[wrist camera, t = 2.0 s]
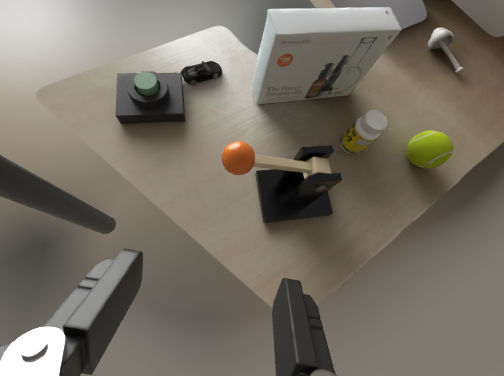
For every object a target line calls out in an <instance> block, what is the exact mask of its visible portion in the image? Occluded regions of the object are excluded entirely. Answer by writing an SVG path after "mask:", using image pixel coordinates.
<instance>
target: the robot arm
mask: <svg viewBox="0 0 504 376" xmlns="http://www.w3.org/2000/svg"><path fill="white" fill-rule="evenodd" d="M142 266H143V253H142V252H141V251H135V250H130V249H123V250H122V251H121V252H120V253H119V254H118V256H117V257H116V258H115V260H112V259H106V260H104V261H102V262H101V263H99V264H98V265H96V266H94V267H93V269H92V270H91V271H90V272H89V273H88V274H87V276H86V277H85V279H83V280H82V281H81V282H80V284H79V285H78V287H77V288H75V289H74V291H73V292H72V293H71V294H70V295H69V297H68V298H67V299H66V300H65V301H64V302H63V303H62V305H61V306H60V307H59V308H58V309H57V311H56V312H55V313H54V314H53V315H52V316H51V318H50V319H49V320H48V321H47V322H46V323H45V324H44V326H42V327H41V328H38V329H34V330H32V331H30V332H28V333H26V334H24V335H22V336H21V337H19V338H18V339H16V340H15V341H14V342H13V343H10V344H6V345H1V346H0V376H80V374H81V373H83V374H90V375H92V374H93V372H94V370H95V368H96V366H97V365H98V363H99V361H100V359H101V357H102V355H103V354H104V352H105V350H106V348H107V346H108V345H109V343H110V341H111V339H112V337H113V336H114V334H115V332H116V330H117V328H118V327H119V325H120V323H121V321H122V320H123V318H124V316H125V314H126V312H127V311H128V309H129V307H130V305H131V303H132V302H133V300H134V298H135V296H136V294H137V292H138V290H139V288H140V285H141V281H142ZM272 318H273V334H274V349H275V365H276V376H337V375H336V374H335V371H334V368H333V364H332V360H331V356H330V353H329V349H328V345H327V342H326V337H325V334H324V330H323V326H322V323H321V320H320V315H319V311H318V307H317V305H316V303H315V302H314V300H313V299H312V297H311V296H310V295H306V294H303V291H302V286H301V282H300V281H298V280H292V279H287V278H283V279H282V281H281V284H280V286H279V289H278V292H277V295H276V297H275V300H274V304H273V311H272Z"/></svg>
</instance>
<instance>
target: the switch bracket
mask: <svg viewBox="0 0 504 376" xmlns="http://www.w3.org/2000/svg"><path fill="white" fill-rule="evenodd" d="M333 152H334V149H333V145H327V146H312V147H301V149H300V150H299V152H298V153H297V155H296V156H295V158H294V159H293V160H296V161H302V162H306V161H307V160H309V159H310V158H312V157H319V158H325V159H328V158H329V157H330V156H331V154H332V153H333ZM256 180H257V187H258V193H259V199H260V205H261V211H262V218H263V223H270V222H279V221H287V220H295V219H304V218H312V217H320V216H329V215H331V214H333V211H332V207H331V203H330V199H329V195H328V192H327V191H328V190H330V189H331V188H332V187H334V186H335V185H336V184H338V183H339V182H340V181H342V177H341V173H333V174H321V175H310V176H307V177H306V179H304V175H303V172H294V171H286V170H278V169H273V170H261V171H256Z"/></svg>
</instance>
